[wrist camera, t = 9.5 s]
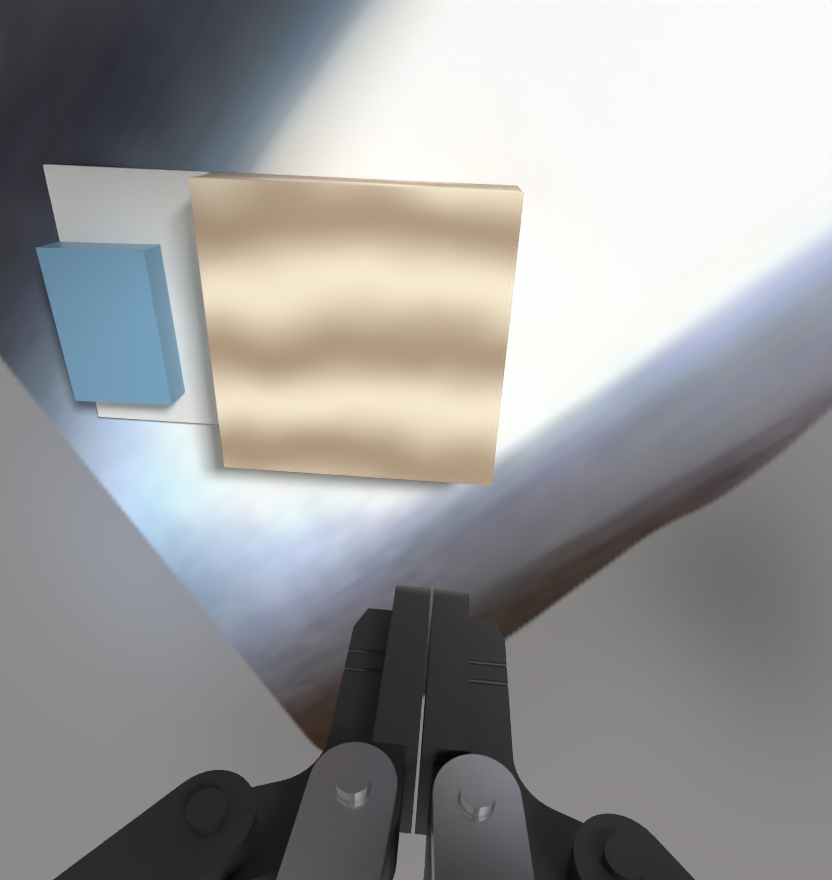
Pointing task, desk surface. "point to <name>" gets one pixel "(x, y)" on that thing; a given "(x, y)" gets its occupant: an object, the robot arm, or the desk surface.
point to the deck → (357, 321)
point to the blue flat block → (113, 321)
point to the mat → (172, 226)
